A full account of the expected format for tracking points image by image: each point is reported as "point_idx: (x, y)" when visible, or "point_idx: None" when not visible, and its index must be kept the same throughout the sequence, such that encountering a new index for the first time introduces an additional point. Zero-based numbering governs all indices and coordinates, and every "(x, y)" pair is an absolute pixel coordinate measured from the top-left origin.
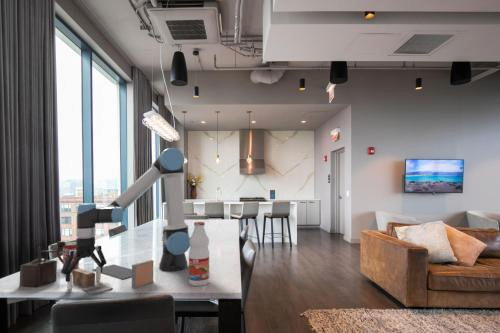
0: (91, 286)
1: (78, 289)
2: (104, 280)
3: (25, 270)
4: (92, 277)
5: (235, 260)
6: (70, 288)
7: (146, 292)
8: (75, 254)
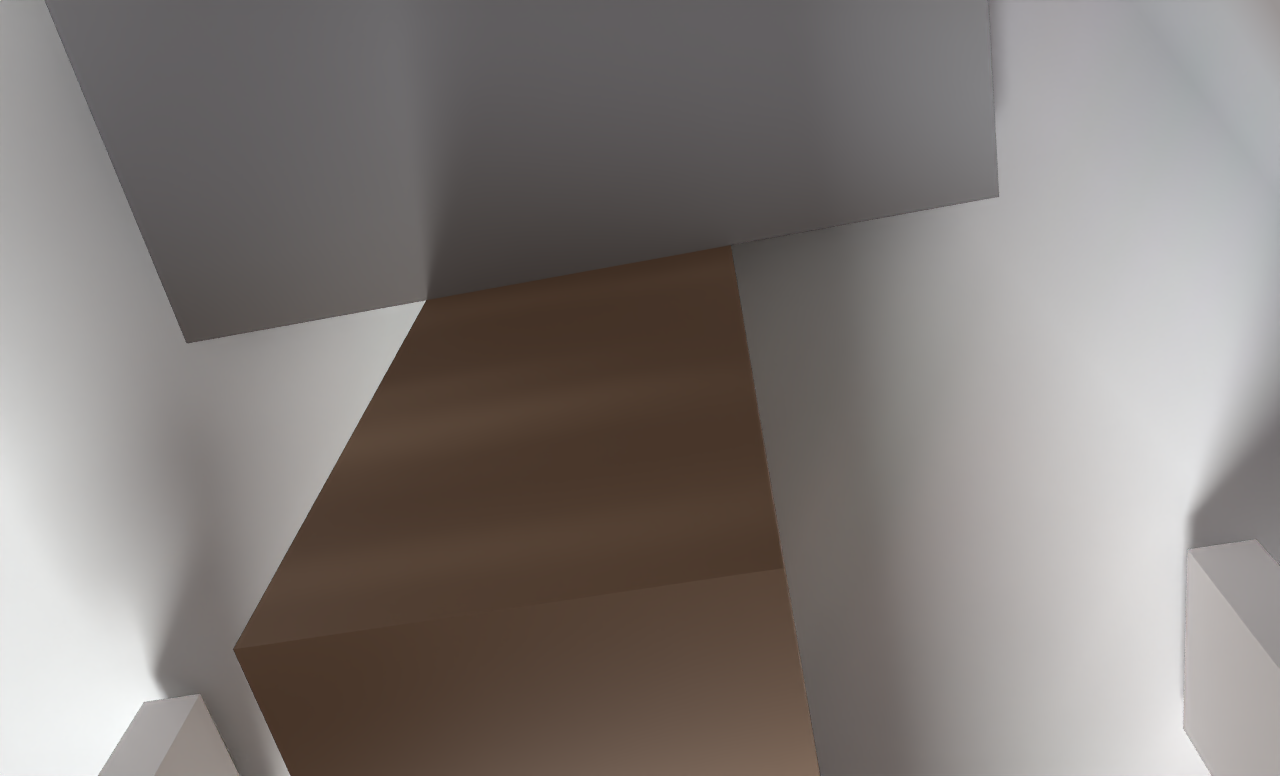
0: (599, 191)
1: (1022, 395)
2: (7, 702)
3: None
4: (487, 464)
5: None
6: (1270, 560)
7: None
8: None
